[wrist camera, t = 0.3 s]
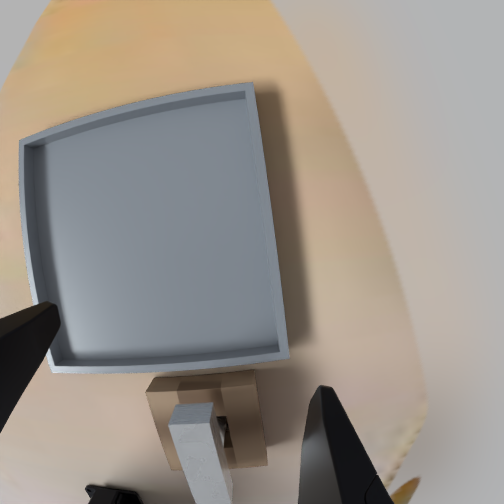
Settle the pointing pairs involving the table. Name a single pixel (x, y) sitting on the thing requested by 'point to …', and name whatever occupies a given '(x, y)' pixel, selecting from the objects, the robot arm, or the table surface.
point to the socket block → (225, 404)
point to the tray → (155, 236)
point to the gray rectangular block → (202, 451)
